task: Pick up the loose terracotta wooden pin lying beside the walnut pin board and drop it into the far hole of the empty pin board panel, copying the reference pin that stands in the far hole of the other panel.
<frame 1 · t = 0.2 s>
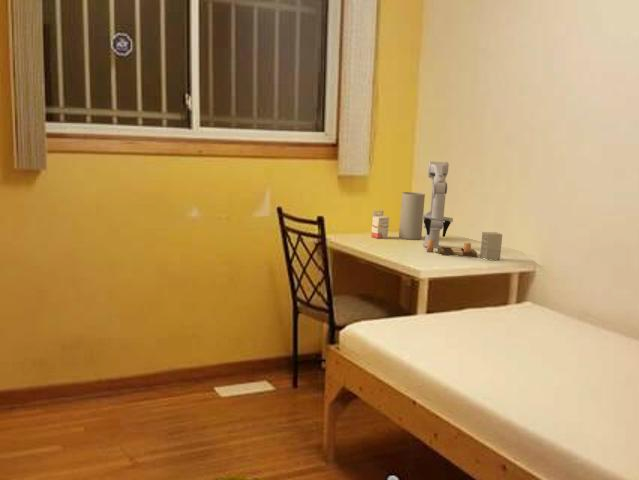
hand: (436, 235, 326), 9 cm above the table, tool pointing down, fingers open, 7 cm apart
cylinder vase: (410, 238, 378), on the table
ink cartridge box: (379, 238, 373), on the table
loose pin: (430, 251, 336), on the table
pin board: (456, 254, 334), on the table
reference pin: (466, 255, 330), resting in pin board
supplement box: (489, 259, 326), on the table
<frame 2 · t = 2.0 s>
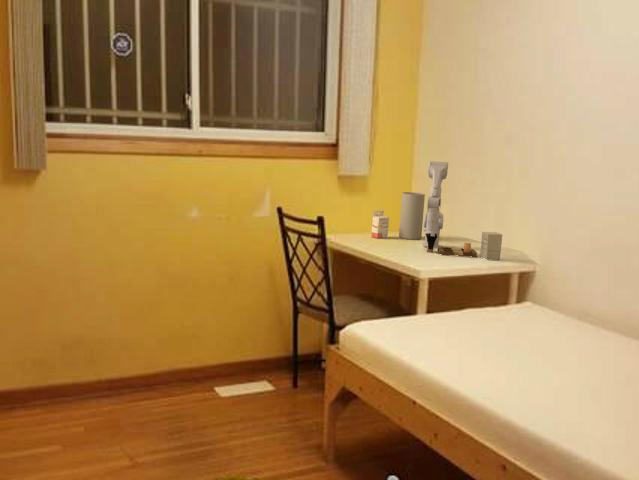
hand: (430, 248, 335), 2 cm above the table, tool pointing down, fingers closed on loose pin, 3 cm apart
loose pin: (430, 251, 336), on the table, touching gripper
everything else where it was.
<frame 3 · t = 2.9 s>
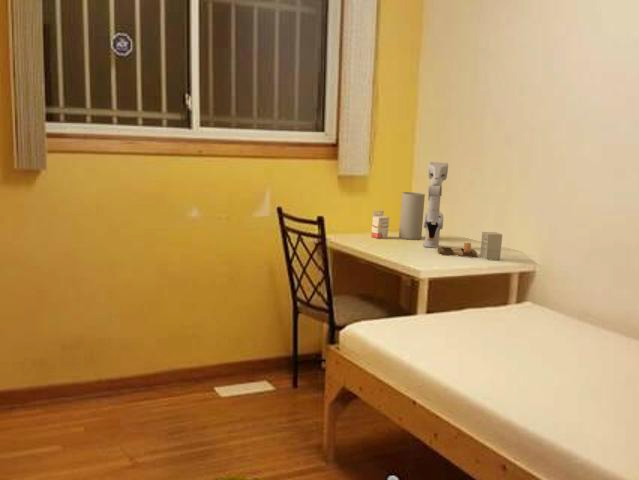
hand: (431, 237, 335), 7 cm above the table, tool pointing down, fingers closed on loose pin, 3 cm apart
loose pin: (430, 240, 335), point 6 cm above the table, touching gripper
everything else where it was.
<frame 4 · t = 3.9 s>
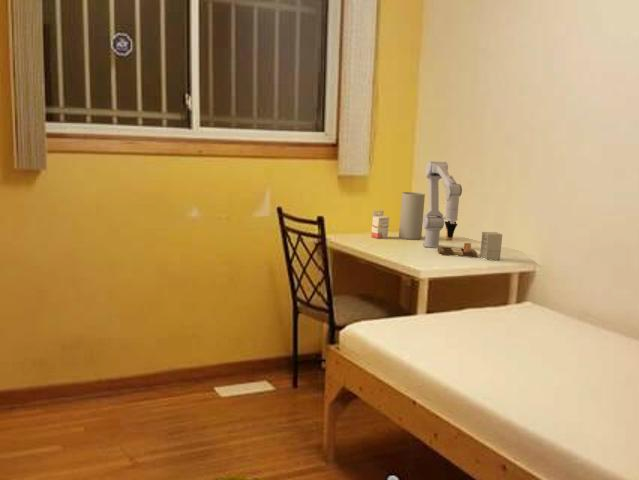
hand: (449, 236, 330), 9 cm above the table, tool pointing down, fingers closed on loose pin, 3 cm apart
loose pin: (449, 240, 330), point 7 cm above the table, touching gripper
everything else where it was.
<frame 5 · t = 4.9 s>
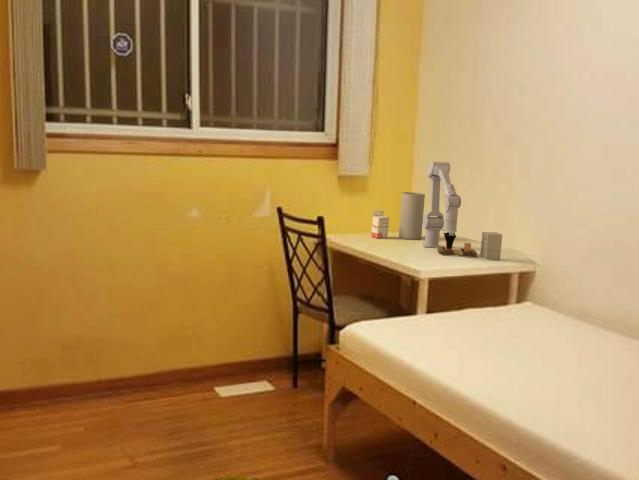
hand: (448, 248, 331), 3 cm above the table, tool pointing down, fingers closed on loose pin, 3 cm apart
loose pin: (448, 251, 331), point 2 cm above the table, touching gripper
everything else where it was.
when the fingers open (3 cm above the table, at t = 5.9 s): loose pin drops 1 cm, resting in pin board.
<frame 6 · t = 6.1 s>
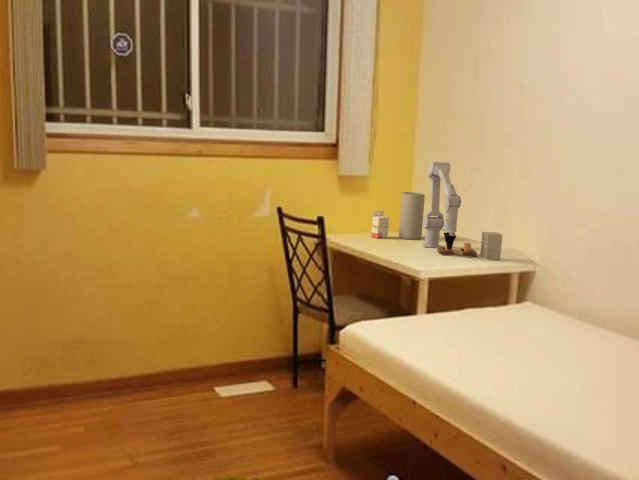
hand: (448, 248, 331), 3 cm above the table, tool pointing down, fingers open, 5 cm apart
loose pin: (447, 254, 331), resting in pin board
everything else where it was.
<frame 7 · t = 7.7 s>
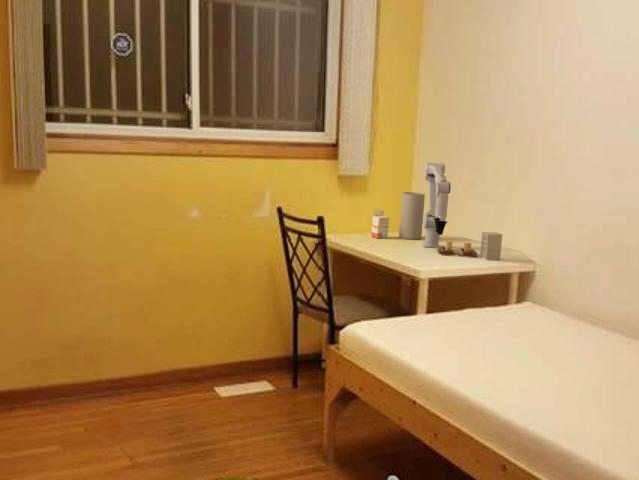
hand: (439, 233, 335), 9 cm above the table, tool pointing down, fingers open, 7 cm apart
nothing on the table moved.
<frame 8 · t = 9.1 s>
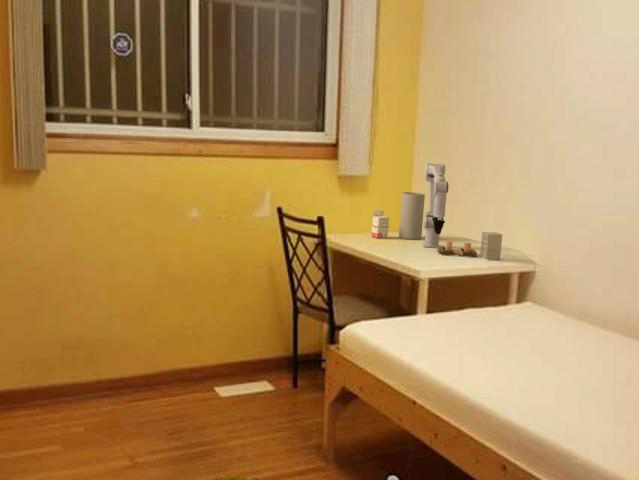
hand: (437, 232, 336), 9 cm above the table, tool pointing down, fingers open, 7 cm apart
nothing on the table moved.
at the end: loose pin 0.1 cm from the target spot on the pin board, point 0.0 cm above the pin board's base; loose pin tilted 0°; the gripper is holding nothing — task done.
